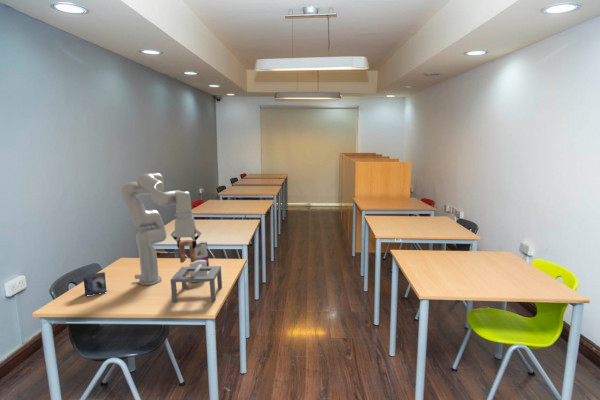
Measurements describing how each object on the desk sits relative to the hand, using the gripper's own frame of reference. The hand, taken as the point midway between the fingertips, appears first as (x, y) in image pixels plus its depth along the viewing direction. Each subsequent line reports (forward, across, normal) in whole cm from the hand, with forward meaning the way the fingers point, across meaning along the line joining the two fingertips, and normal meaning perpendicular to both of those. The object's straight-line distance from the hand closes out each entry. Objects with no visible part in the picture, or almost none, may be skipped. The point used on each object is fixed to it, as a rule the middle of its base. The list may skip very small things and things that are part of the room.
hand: (187, 247), depth 203 cm
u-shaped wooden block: (+7, 0, 0) cm, 7 cm away
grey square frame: (+26, +4, 0) cm, 27 cm away
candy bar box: (+26, -8, +46) cm, 54 cm away
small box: (+26, -54, +4) cm, 60 cm away
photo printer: (+26, -2, +22) cm, 34 cm away
